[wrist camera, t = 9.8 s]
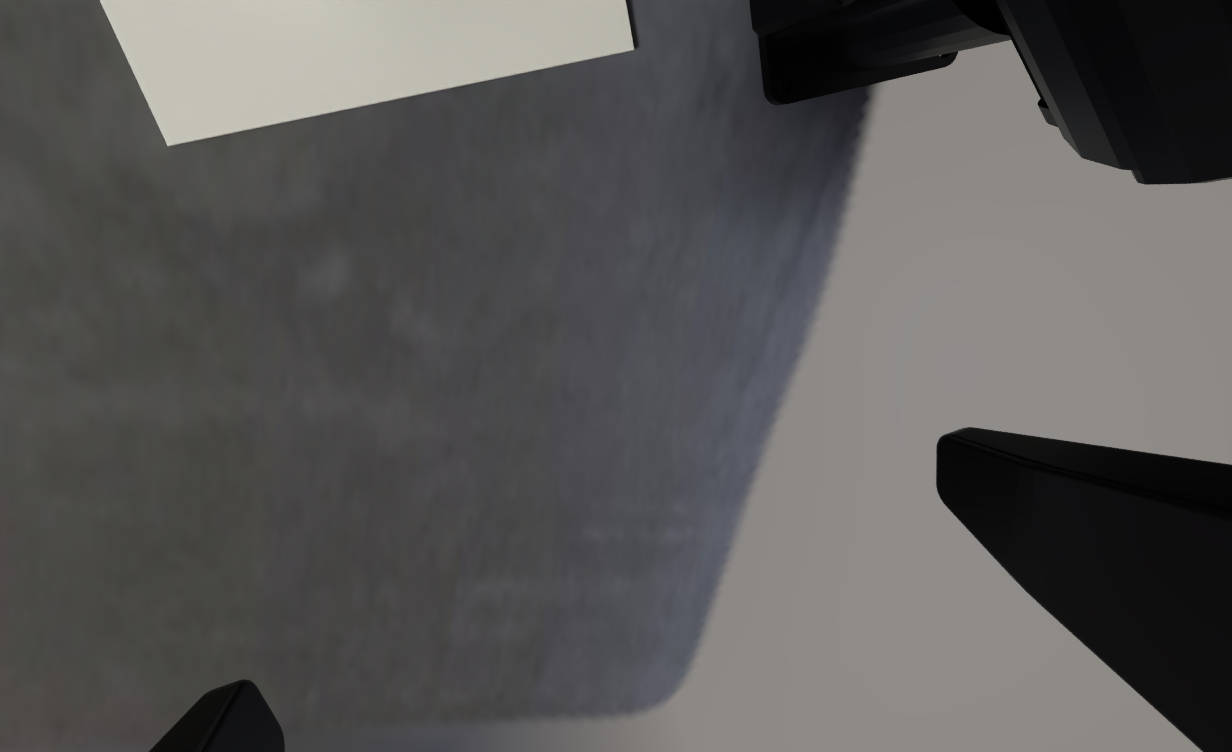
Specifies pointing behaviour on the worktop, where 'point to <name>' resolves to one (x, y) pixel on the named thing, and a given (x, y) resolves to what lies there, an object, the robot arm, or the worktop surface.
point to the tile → (340, 52)
